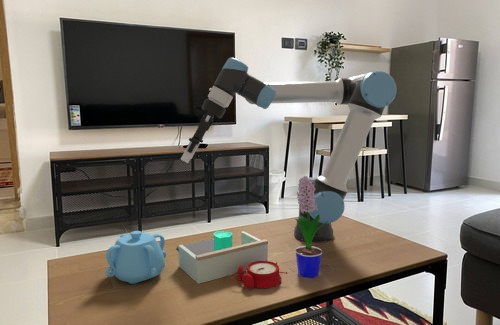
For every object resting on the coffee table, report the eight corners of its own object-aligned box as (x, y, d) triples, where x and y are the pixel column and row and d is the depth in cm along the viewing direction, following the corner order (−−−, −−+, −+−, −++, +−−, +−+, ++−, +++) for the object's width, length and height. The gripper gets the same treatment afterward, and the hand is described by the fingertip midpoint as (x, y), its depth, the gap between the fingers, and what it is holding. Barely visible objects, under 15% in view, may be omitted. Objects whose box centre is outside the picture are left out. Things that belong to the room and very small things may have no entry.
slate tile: (211, 240, 142) (211, 238, 142) (230, 252, 131) (230, 250, 131) (176, 248, 135) (176, 246, 135) (192, 261, 123) (192, 259, 123)
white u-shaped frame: (244, 250, 133) (244, 228, 132) (267, 264, 121) (268, 240, 120) (179, 266, 120) (178, 242, 119) (198, 284, 108) (197, 257, 107)
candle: (210, 265, 120) (209, 229, 118) (223, 259, 125) (223, 225, 123) (223, 271, 116) (222, 233, 114) (236, 265, 121) (236, 229, 119)
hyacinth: (319, 284, 107) (321, 181, 103) (288, 274, 114) (289, 176, 109) (332, 273, 114) (335, 176, 110) (302, 264, 120) (304, 172, 116)
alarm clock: (291, 272, 107) (241, 269, 101) (286, 294, 107) (236, 291, 102) (275, 258, 117) (229, 254, 111) (271, 278, 117) (225, 275, 112)
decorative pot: (172, 265, 121) (171, 224, 119) (154, 289, 105) (152, 242, 103) (124, 263, 123) (122, 223, 121) (99, 286, 107) (96, 240, 105)
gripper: (208, 99, 136) (180, 150, 138) (205, 95, 112) (171, 157, 113) (226, 109, 137) (198, 160, 139) (227, 107, 113) (193, 169, 114)
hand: (186, 159), depth 126 cm, fingers open, 13 cm apart
